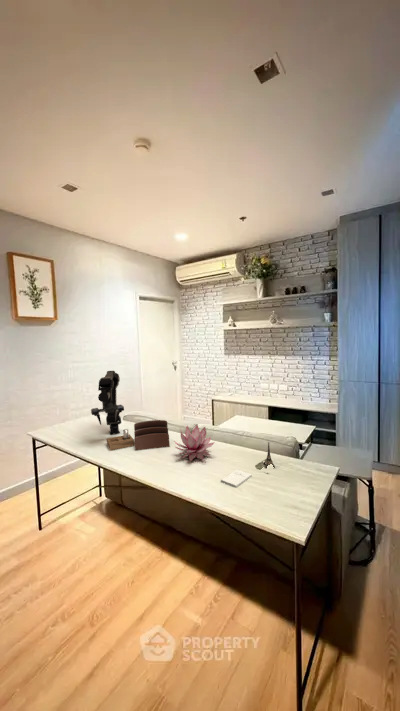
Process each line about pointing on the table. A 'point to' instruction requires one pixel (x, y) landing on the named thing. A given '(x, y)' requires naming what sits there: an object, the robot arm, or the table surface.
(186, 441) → the decorative flower
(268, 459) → the eiffel tower figurine
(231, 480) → the external hard drive
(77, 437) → the table surface
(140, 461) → the table surface
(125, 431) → the pin
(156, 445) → the letter holder
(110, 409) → the robot arm
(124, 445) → the block
